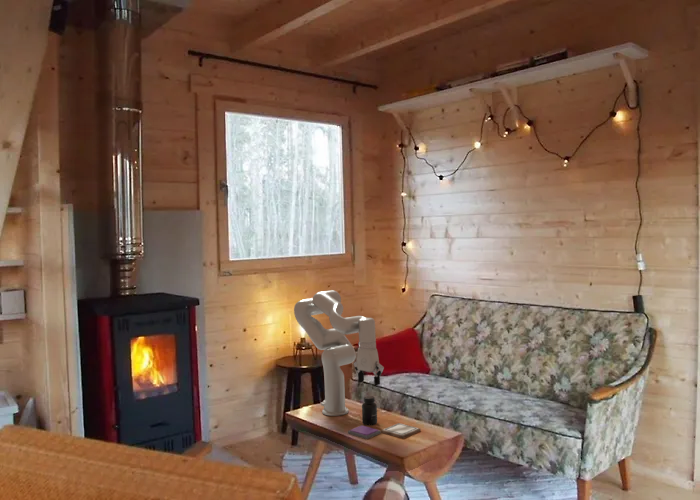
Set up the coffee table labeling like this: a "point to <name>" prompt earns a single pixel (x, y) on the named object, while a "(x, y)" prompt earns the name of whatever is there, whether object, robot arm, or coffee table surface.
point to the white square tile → (400, 430)
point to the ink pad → (364, 432)
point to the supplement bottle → (369, 411)
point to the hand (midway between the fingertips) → (369, 383)
